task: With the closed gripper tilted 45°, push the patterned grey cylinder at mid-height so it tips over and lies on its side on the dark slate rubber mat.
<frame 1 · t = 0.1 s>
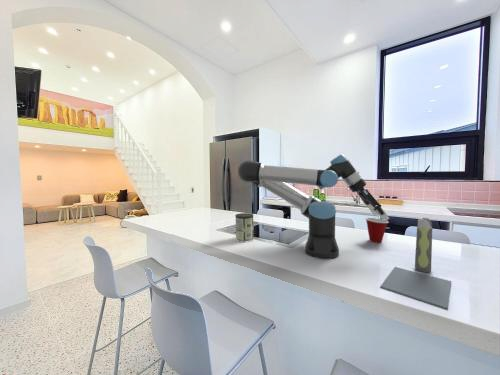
hand: (381, 217, 104), 15 cm above the counter, tool tilted 35°, fingers open, 13 cm apart
slate mat: (416, 284, 70), on the counter
coffee can: (244, 239, 121), on the counter
patterned grey cylinder: (422, 270, 81), on the counter
plastic cup: (376, 241, 115), on the counter
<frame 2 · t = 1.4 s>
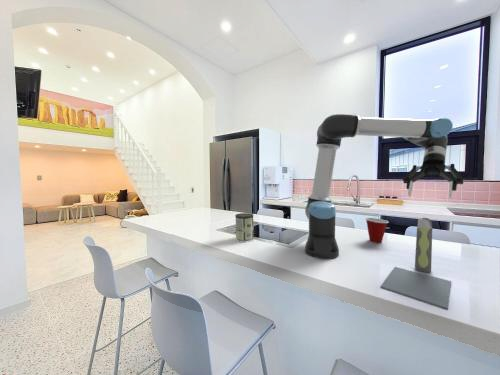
hand: (428, 195, 86), 28 cm above the counter, tool tilted 45°, fingers open, 12 cm apart
nothing on the counter moved.
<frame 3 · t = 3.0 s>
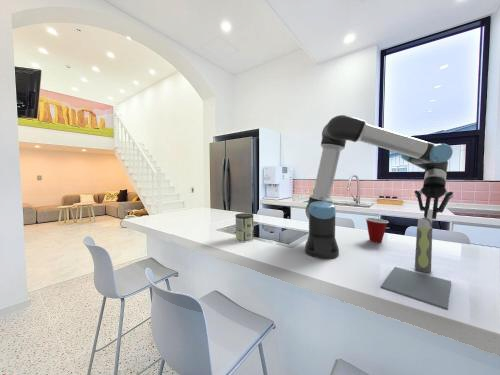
hand: (429, 224, 85), 16 cm above the counter, tool tilted 45°, fingers closed
nothing on the counter moved.
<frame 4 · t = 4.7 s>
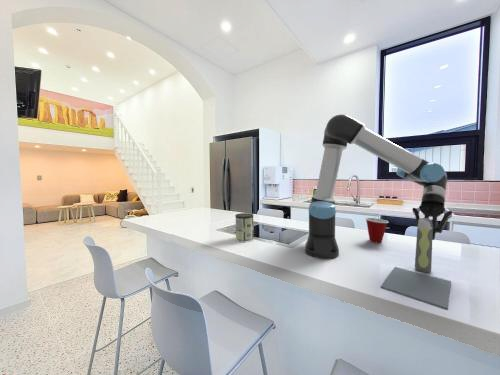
hand: (427, 245, 81), 9 cm above the counter, tool tilted 45°, fingers closed
patterned grey cylinder: (422, 270, 81), on the counter, touching gripper
everything else where it was.
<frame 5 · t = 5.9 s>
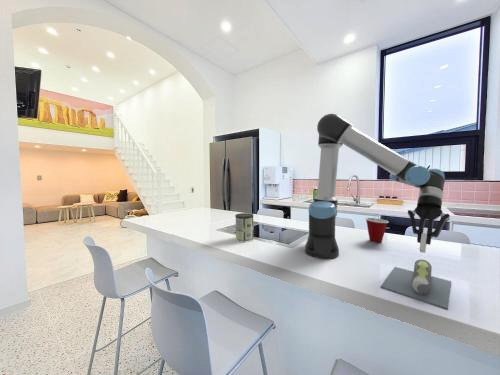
hand: (422, 250, 76), 9 cm above the counter, tool tilted 45°, fingers closed
patterned grey cylinder: (422, 265, 78), point 3 cm above the counter, touching slate mat
everything else where it was.
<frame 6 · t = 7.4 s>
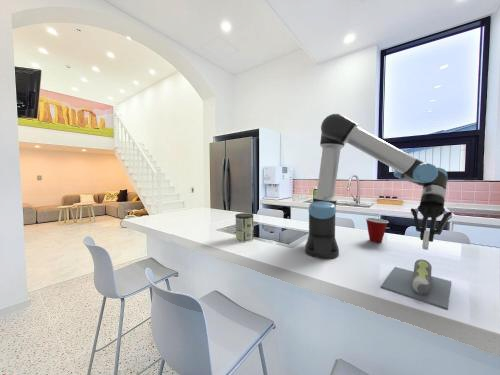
hand: (425, 247, 78), 9 cm above the counter, tool tilted 45°, fingers closed
nothing on the counter moved.
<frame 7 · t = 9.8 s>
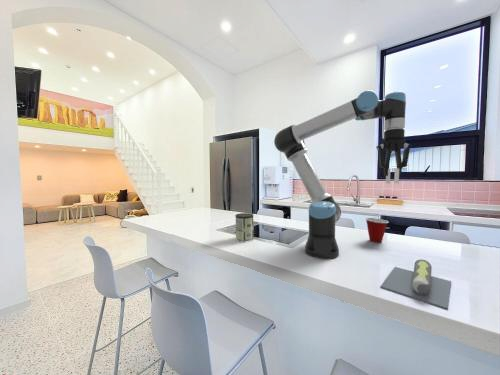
hand: (392, 183, 94), 32 cm above the counter, tool pointing down, fingers open, 3 cm apart
nothing on the counter moved.
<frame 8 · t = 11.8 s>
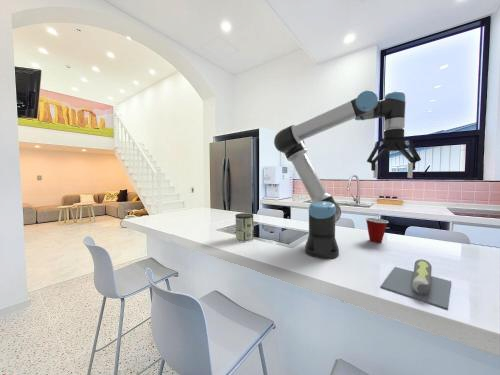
hand: (392, 178, 94), 35 cm above the counter, tool pointing down, fingers open, 13 cm apart
nothing on the counter moved.
at the end: patterned grey cylinder tilted 91°; patterned grey cylinder touching slate mat; the gripper is holding nothing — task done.
